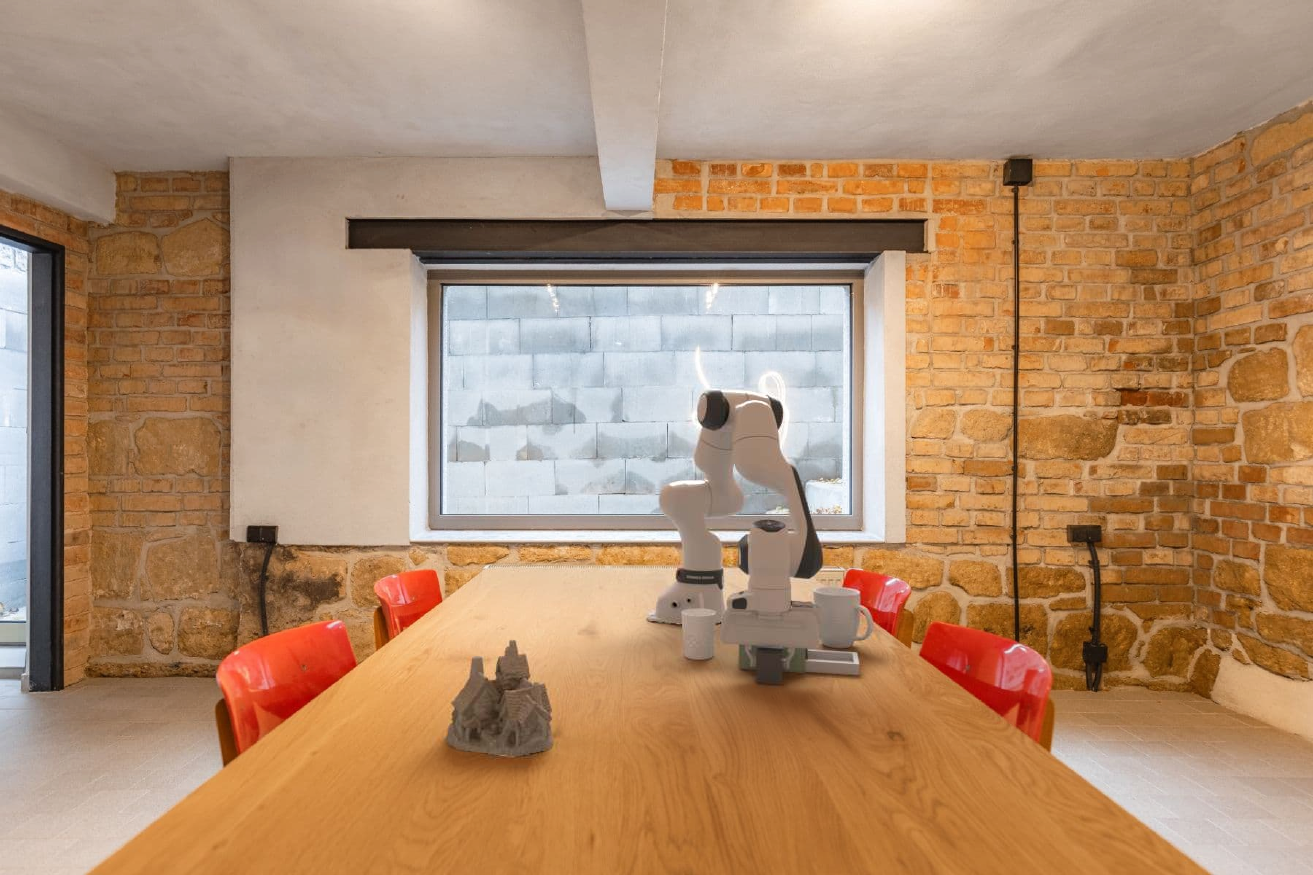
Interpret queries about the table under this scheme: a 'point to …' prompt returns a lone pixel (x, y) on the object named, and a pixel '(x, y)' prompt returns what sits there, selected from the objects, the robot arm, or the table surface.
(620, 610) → the table surface
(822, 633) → the mug
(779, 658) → the tall grey rectangular block
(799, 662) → the green box with dome
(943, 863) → the table surface
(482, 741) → the ceramic cottage
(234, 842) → the table surface
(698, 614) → the white cup
